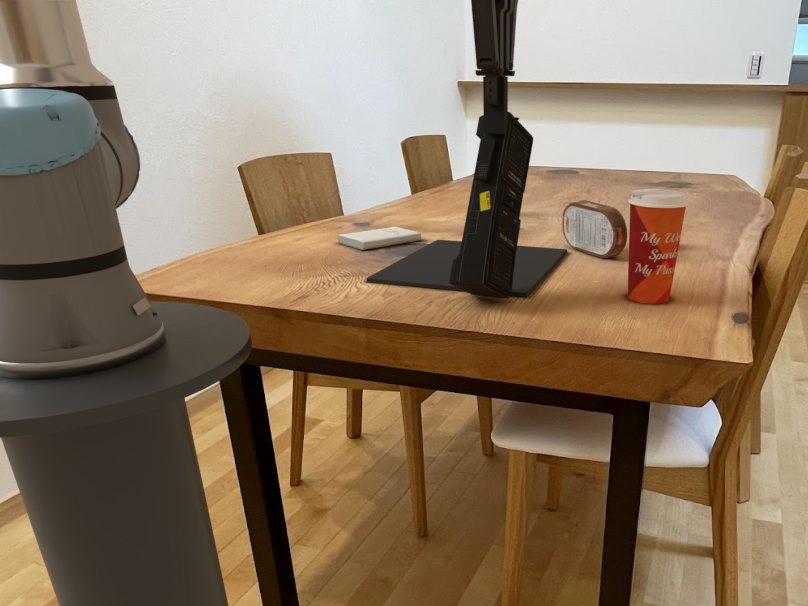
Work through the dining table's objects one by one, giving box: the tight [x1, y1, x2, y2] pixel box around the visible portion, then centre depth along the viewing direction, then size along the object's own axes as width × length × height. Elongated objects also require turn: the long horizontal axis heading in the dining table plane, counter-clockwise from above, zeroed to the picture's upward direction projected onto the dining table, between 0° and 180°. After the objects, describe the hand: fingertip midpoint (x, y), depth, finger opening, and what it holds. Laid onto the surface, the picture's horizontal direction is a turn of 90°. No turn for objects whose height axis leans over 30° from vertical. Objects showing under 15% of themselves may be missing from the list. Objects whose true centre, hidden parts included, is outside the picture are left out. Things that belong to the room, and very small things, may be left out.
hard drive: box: [337, 226, 422, 251], centre depth 120 cm, size 2×8×12 cm
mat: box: [365, 239, 568, 298], centre depth 105 cm, size 24×28×1 cm
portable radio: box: [449, 111, 534, 299], centre depth 86 cm, size 8×6×25 cm
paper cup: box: [627, 188, 690, 305], centre depth 87 cm, size 8×8×14 cm
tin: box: [561, 199, 628, 259], centre depth 113 cm, size 15×3×8 cm, turn 32°
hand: (495, 133), depth 83 cm, fingers closed
